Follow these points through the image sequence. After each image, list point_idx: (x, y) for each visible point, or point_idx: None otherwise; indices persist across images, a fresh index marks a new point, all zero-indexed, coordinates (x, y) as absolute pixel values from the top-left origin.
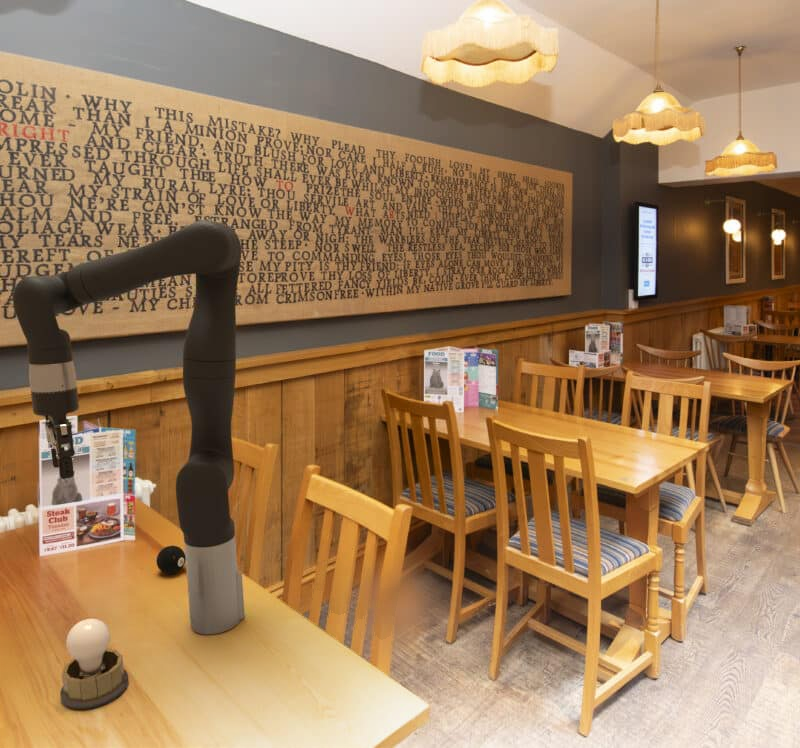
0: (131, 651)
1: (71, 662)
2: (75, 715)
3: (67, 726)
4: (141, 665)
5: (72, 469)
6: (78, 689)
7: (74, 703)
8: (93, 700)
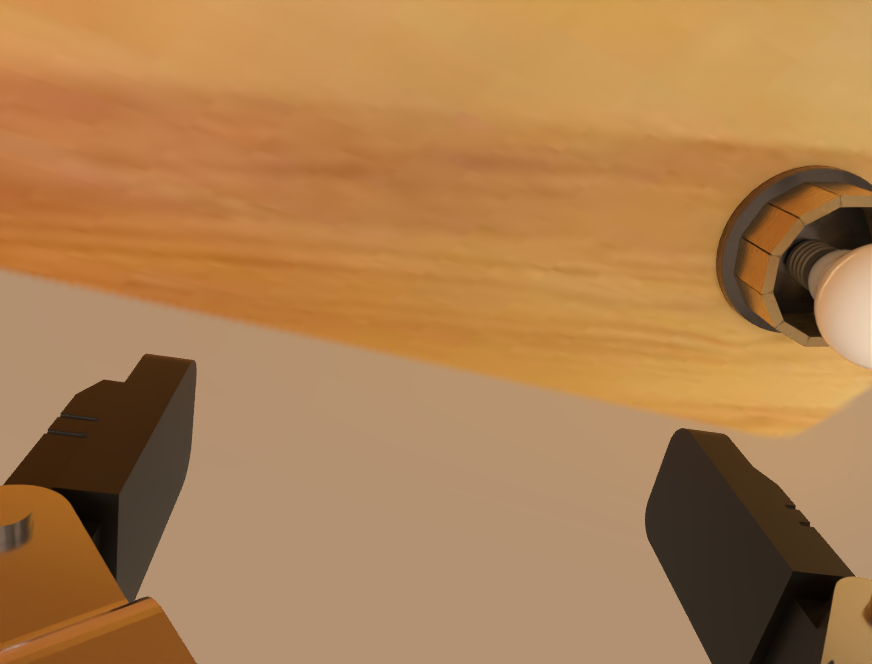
0: (719, 98)
1: (777, 312)
2: None
3: None
4: (812, 110)
5: (751, 477)
6: None
7: None
8: None
